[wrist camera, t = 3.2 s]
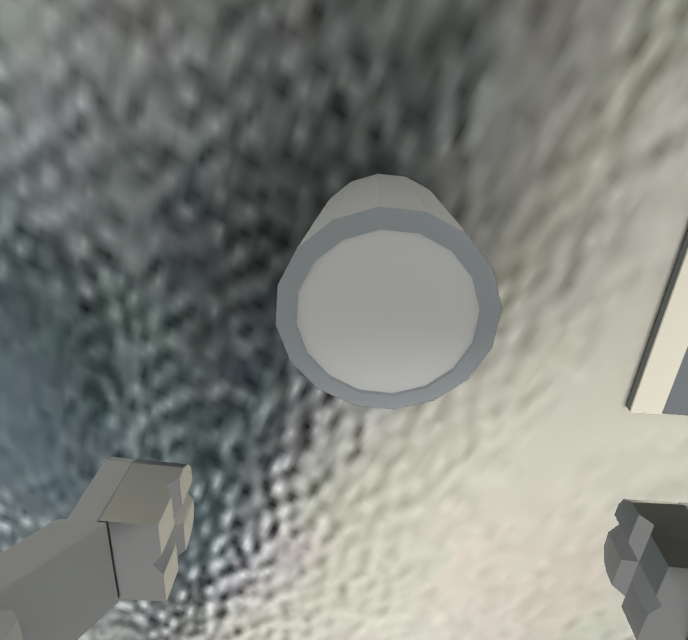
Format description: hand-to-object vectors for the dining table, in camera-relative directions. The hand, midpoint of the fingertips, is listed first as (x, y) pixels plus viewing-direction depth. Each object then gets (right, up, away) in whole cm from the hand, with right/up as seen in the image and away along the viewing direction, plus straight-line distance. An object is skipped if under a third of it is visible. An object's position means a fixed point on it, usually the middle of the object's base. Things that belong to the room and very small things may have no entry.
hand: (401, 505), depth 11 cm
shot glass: (+1, +7, +13) cm, 15 cm away
